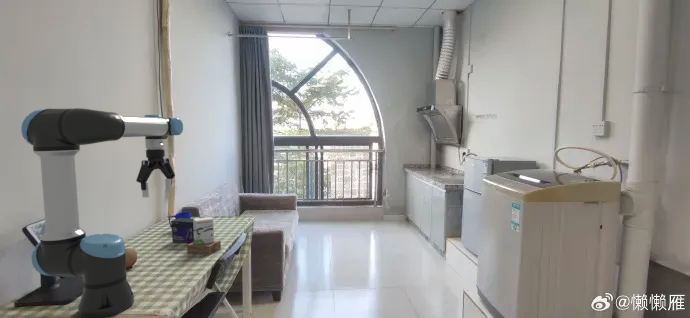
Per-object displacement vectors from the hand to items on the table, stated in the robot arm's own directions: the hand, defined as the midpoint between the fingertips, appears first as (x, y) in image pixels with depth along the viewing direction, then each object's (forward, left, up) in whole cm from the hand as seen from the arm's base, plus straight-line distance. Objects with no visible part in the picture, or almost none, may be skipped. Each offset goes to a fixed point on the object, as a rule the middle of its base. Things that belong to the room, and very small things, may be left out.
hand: (157, 194), depth 164 cm
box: (+21, +1, -29) cm, 36 cm away
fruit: (-16, +3, -29) cm, 33 cm away
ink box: (+10, -16, -25) cm, 31 cm away
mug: (+39, +22, -29) cm, 53 cm away
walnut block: (+10, -16, -29) cm, 34 cm away
